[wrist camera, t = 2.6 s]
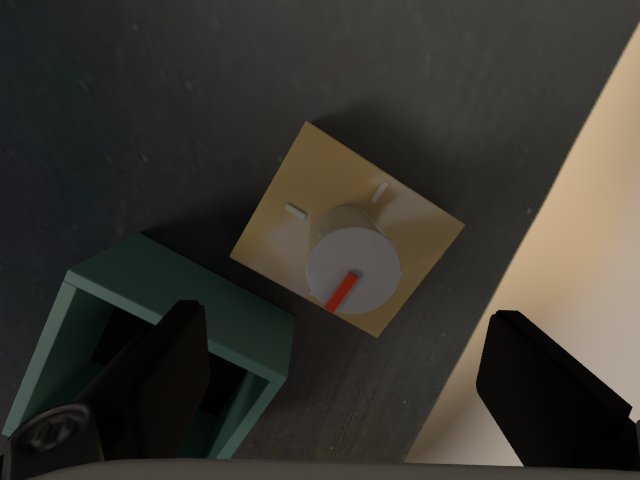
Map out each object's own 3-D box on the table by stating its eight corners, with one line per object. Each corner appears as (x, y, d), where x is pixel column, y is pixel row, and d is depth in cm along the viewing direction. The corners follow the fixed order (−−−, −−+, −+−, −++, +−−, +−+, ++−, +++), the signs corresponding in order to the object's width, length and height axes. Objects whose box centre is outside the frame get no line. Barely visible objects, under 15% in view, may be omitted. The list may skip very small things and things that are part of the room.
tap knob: (334, 190, 20) (339, 209, 15) (397, 230, 20) (422, 260, 15) (295, 252, 21) (287, 289, 16) (355, 287, 22) (366, 332, 17)
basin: (138, 231, 24) (67, 269, 17) (296, 316, 26) (287, 378, 19) (78, 361, 27) (0, 434, 21) (221, 425, 29) (193, 510, 23)
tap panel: (308, 122, 21) (306, 120, 18) (448, 214, 23) (467, 225, 20) (239, 242, 24) (228, 258, 21) (370, 316, 26) (377, 339, 23)
